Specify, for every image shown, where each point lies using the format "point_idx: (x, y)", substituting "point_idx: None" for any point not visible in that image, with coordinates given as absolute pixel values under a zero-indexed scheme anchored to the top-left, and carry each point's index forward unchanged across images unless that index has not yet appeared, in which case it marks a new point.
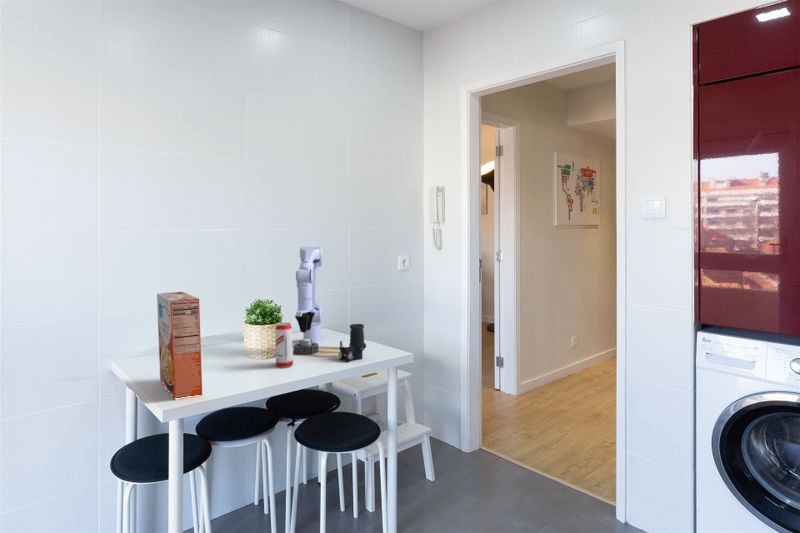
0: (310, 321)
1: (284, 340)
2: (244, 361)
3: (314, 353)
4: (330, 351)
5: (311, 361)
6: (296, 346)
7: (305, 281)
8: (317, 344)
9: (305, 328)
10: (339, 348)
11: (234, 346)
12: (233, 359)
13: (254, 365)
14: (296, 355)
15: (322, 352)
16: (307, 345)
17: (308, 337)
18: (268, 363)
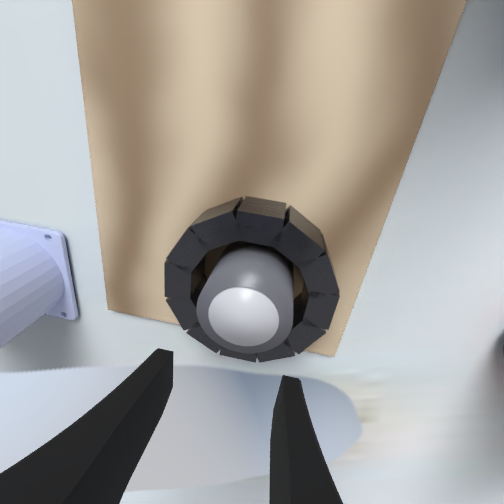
0: (112, 443)
1: None
2: (387, 469)
3: (301, 214)
4: (236, 102)
5: (481, 204)
6: (295, 343)
7: None
8: (232, 218)
9: (309, 421)
10: (128, 36)
11: (155, 496)
12: (346, 494)
13: (474, 441)
14: (338, 309)
15: (267, 163)
16: (290, 284)
17: (31, 304)
18: (452, 401)
